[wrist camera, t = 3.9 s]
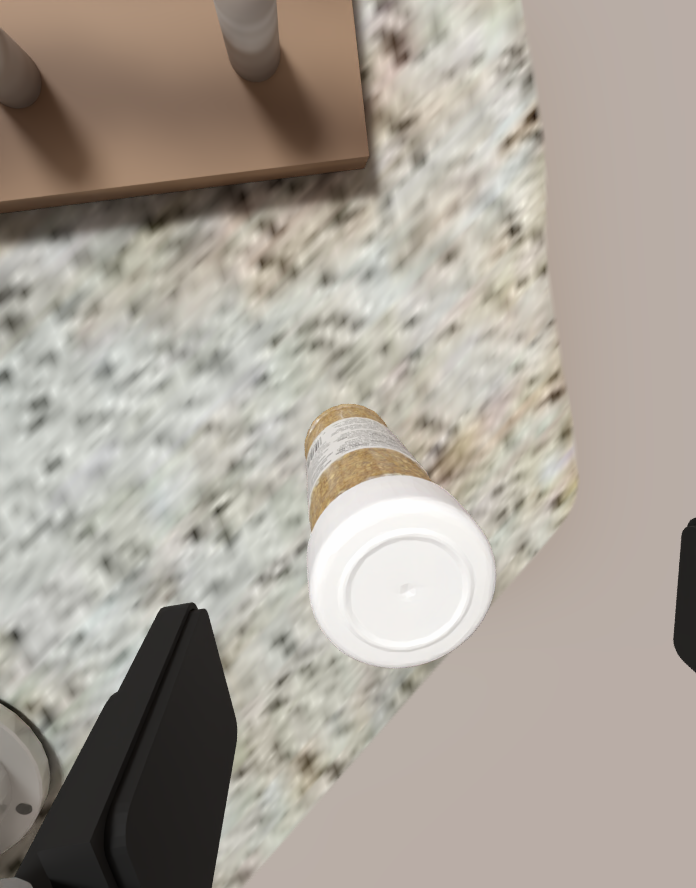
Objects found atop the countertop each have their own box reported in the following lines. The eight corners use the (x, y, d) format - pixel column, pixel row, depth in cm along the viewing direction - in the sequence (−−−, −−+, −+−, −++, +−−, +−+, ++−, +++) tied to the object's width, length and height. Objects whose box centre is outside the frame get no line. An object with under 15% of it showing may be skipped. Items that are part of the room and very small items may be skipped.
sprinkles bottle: (364, 499, 24) (439, 701, 11) (287, 463, 23) (273, 637, 10) (407, 425, 23) (539, 551, 10) (329, 384, 22) (369, 467, 9)
